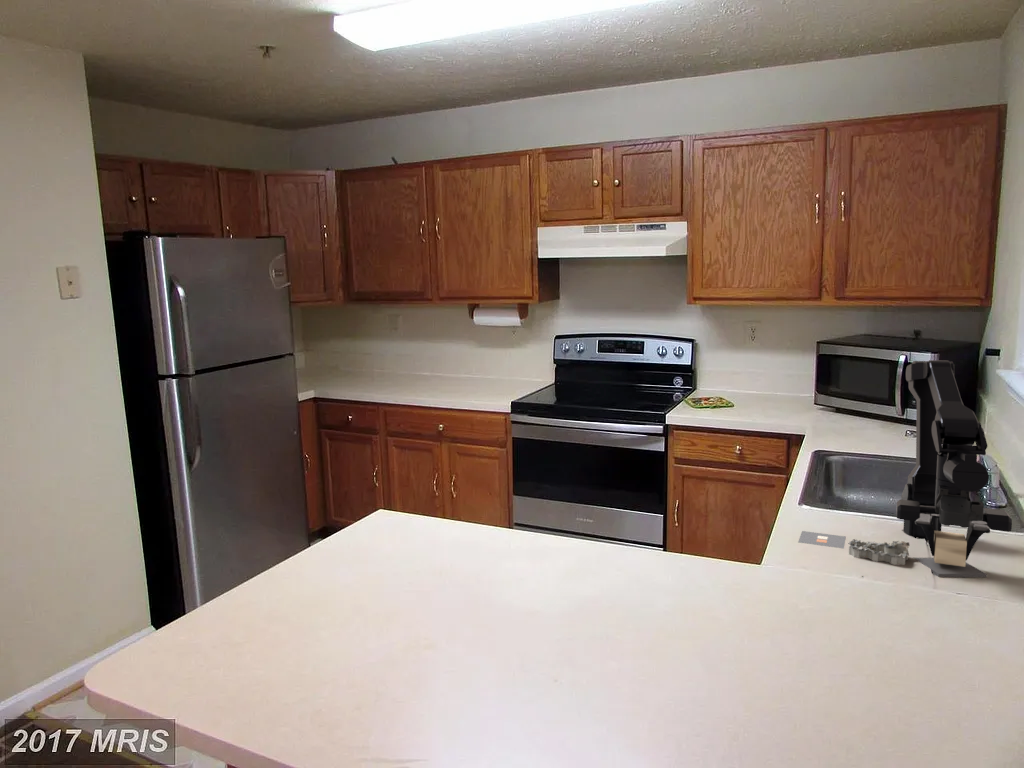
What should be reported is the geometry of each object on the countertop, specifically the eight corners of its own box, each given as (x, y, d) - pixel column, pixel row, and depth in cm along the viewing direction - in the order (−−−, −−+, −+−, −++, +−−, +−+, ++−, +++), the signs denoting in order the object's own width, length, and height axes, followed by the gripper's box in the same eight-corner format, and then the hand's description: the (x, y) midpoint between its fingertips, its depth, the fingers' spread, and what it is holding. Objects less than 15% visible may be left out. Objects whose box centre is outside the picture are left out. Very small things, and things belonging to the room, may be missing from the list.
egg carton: (911, 562, 142) (912, 542, 141) (902, 572, 136) (903, 551, 136) (855, 550, 149) (856, 531, 148) (844, 559, 143) (845, 540, 143)
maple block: (933, 554, 140) (934, 530, 140) (962, 558, 138) (964, 534, 137) (934, 562, 136) (936, 537, 135) (965, 566, 133) (966, 541, 133)
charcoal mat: (957, 560, 141) (958, 557, 141) (986, 577, 132) (986, 574, 132) (912, 560, 142) (912, 557, 141) (938, 576, 133) (938, 573, 133)
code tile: (802, 533, 159) (802, 530, 159) (845, 539, 155) (845, 536, 155) (797, 544, 152) (798, 542, 151) (843, 551, 147) (843, 548, 147)
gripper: (899, 483, 132) (895, 563, 134) (1019, 494, 124) (1013, 579, 125) (898, 471, 142) (894, 546, 144) (1009, 481, 134) (1004, 560, 135)
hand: (948, 557), depth 137 cm, fingers closed on maple block, 5 cm apart
